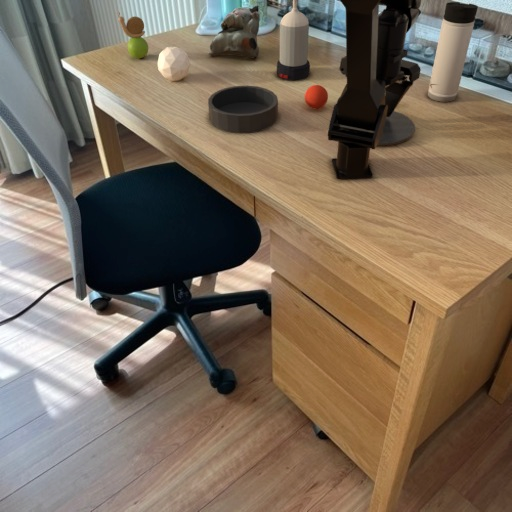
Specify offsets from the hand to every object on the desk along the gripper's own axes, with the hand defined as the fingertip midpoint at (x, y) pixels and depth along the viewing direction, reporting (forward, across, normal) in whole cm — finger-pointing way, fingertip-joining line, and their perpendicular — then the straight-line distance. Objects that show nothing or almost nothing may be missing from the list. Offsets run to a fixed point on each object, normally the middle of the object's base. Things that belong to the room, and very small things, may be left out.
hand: (377, 122), depth 108 cm
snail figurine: (+2, +6, -70) cm, 70 cm away
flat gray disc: (+1, 0, 0) cm, 1 cm away
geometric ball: (+2, +9, -52) cm, 52 cm away
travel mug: (+2, -23, +3) cm, 23 cm away
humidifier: (+2, -11, -31) cm, 33 cm away
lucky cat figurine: (+2, -11, -51) cm, 52 cm away
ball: (-1, 0, -16) cm, 16 cm away
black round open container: (+1, +13, -25) cm, 28 cm away
